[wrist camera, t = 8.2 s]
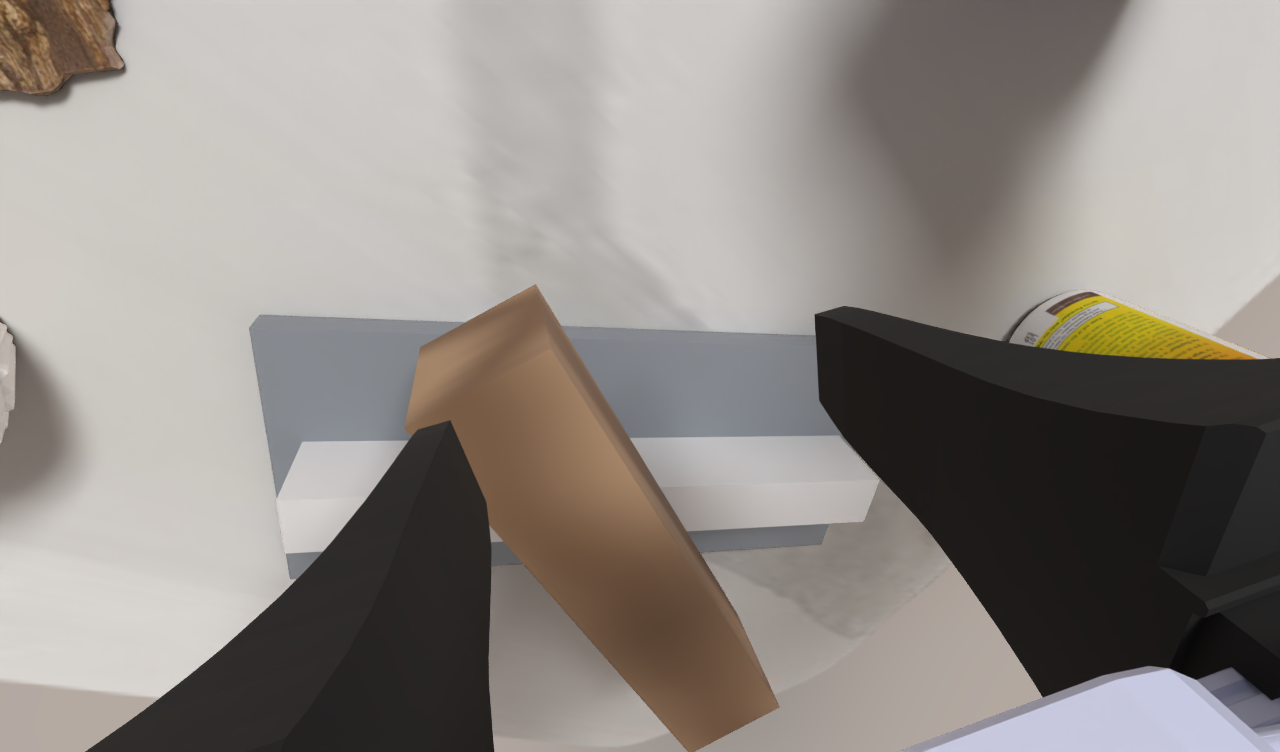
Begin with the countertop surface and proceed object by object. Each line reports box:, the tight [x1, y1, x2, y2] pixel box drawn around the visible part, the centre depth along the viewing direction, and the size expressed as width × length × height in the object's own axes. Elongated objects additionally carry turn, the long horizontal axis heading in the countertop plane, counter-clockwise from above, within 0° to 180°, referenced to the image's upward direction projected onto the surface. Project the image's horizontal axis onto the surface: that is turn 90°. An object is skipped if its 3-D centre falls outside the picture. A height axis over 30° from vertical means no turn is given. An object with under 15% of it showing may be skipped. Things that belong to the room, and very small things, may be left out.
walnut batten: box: [404, 284, 779, 752], centre depth 18 cm, size 4×16×4 cm, turn 25°
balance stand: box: [249, 315, 880, 579], centre depth 22 cm, size 22×10×4 cm, turn 82°
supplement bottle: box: [1009, 290, 1272, 359], centre depth 22 cm, size 6×6×10 cm
